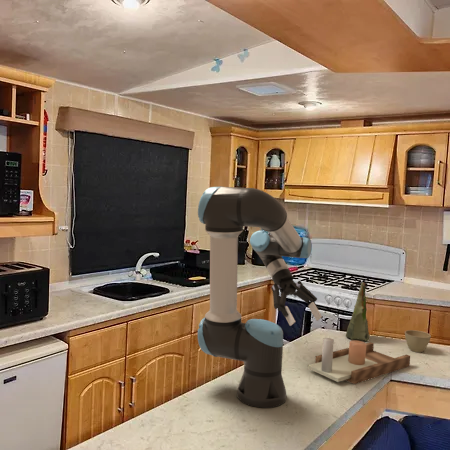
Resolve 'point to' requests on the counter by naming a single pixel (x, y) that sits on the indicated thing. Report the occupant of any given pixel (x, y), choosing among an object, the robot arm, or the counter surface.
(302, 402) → the counter surface
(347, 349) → the tray
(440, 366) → the counter surface
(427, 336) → the flower pot
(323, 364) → the cream flat panel
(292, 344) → the counter surface
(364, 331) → the olive tapered piece
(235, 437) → the counter surface
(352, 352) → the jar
